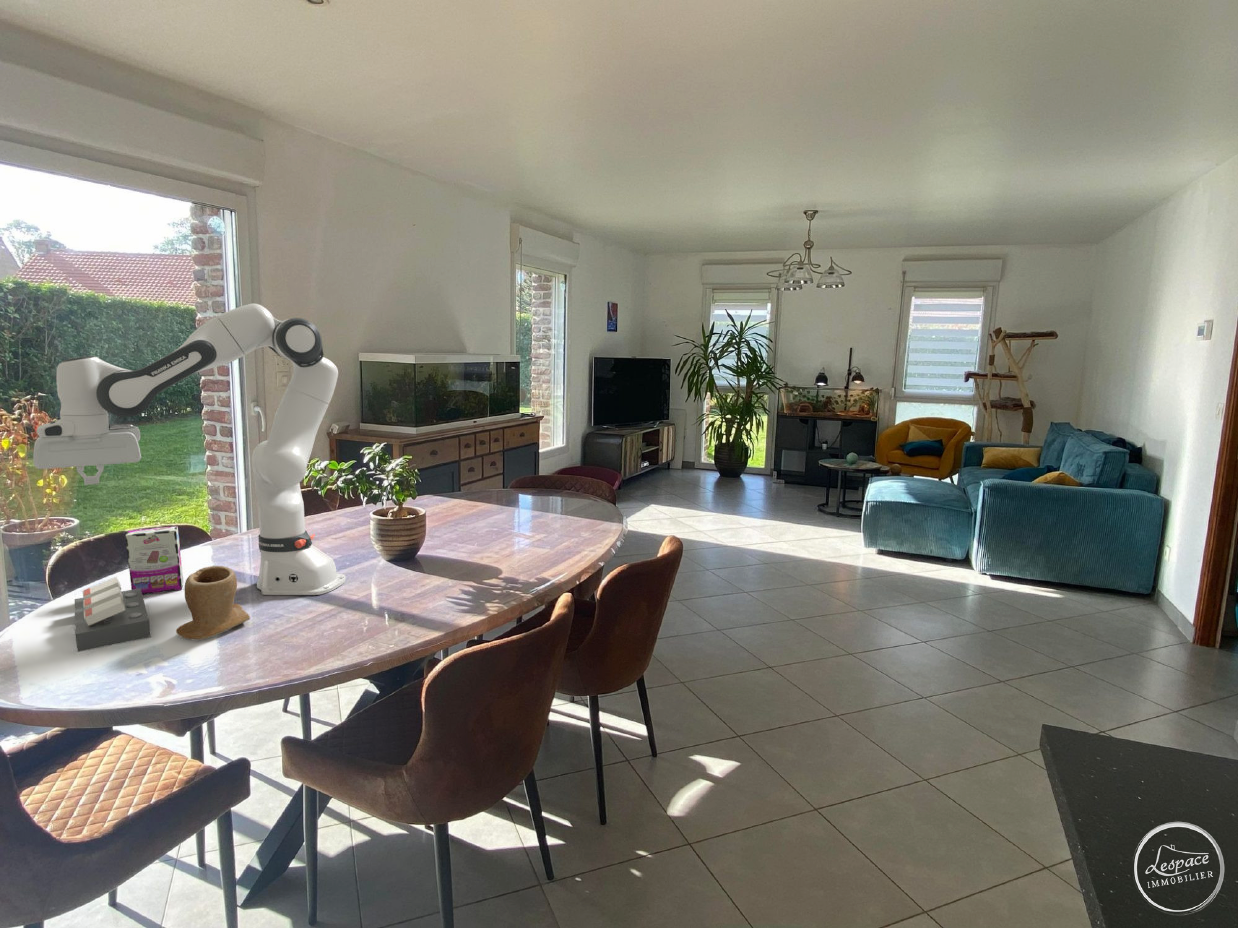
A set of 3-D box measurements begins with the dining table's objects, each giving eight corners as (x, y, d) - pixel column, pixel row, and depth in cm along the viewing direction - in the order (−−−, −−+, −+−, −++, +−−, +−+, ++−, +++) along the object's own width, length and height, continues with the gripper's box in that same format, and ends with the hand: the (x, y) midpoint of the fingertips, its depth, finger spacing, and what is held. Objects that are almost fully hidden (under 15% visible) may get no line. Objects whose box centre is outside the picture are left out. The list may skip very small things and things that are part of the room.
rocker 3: (124, 603, 157) (119, 595, 156) (125, 610, 153) (121, 601, 152) (87, 618, 153) (83, 610, 152) (88, 625, 149) (83, 617, 149)
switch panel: (142, 603, 174) (140, 583, 173) (150, 636, 155) (148, 614, 154) (76, 614, 166) (73, 594, 165) (77, 651, 147) (74, 628, 146)
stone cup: (204, 648, 150) (198, 582, 147) (168, 637, 155) (162, 573, 152) (265, 623, 164) (261, 562, 161) (230, 614, 169) (225, 555, 166)
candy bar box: (184, 584, 187) (178, 525, 184) (182, 590, 183) (177, 530, 180) (134, 590, 182) (127, 529, 179) (131, 596, 178) (124, 534, 175)
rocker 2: (122, 593, 162) (117, 585, 162) (123, 599, 159) (119, 591, 158) (87, 608, 159) (82, 600, 158) (87, 614, 155) (83, 606, 154)
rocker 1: (120, 583, 168) (116, 576, 167) (121, 589, 165) (117, 581, 164) (86, 598, 165) (82, 590, 164) (87, 604, 161) (82, 596, 160)
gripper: (138, 422, 171) (143, 477, 173) (30, 426, 159) (37, 486, 161) (140, 425, 166) (145, 481, 169) (28, 430, 154) (36, 491, 156)
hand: (92, 483), depth 165 cm, fingers closed
